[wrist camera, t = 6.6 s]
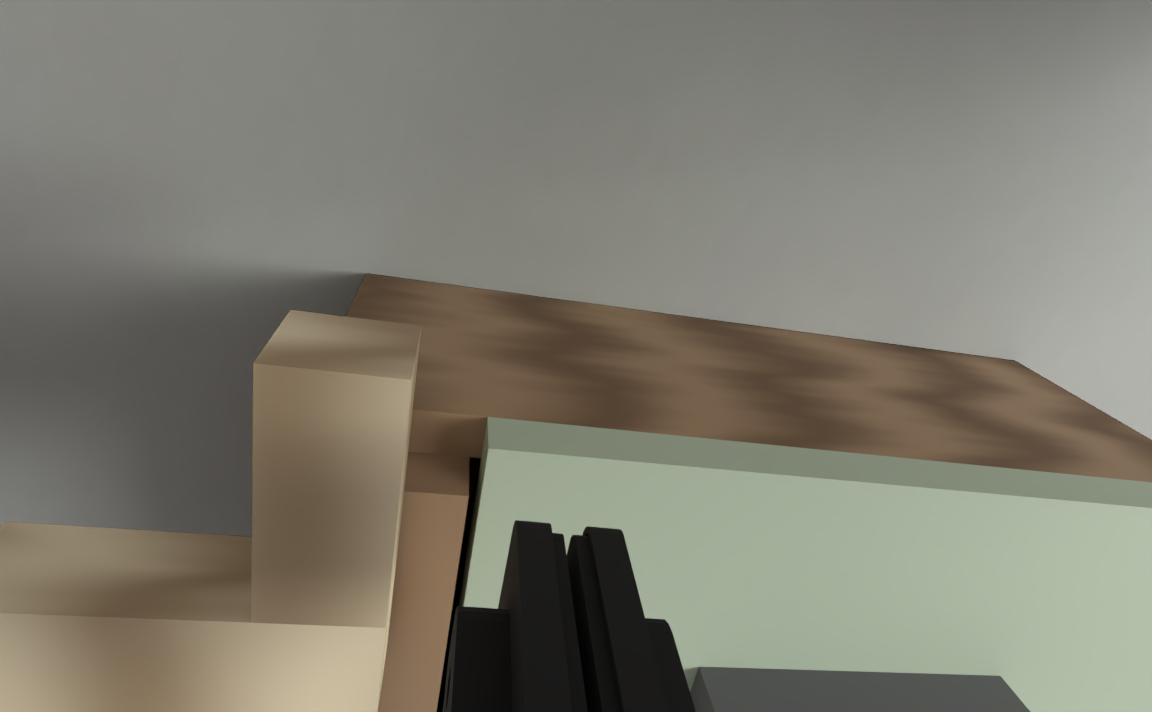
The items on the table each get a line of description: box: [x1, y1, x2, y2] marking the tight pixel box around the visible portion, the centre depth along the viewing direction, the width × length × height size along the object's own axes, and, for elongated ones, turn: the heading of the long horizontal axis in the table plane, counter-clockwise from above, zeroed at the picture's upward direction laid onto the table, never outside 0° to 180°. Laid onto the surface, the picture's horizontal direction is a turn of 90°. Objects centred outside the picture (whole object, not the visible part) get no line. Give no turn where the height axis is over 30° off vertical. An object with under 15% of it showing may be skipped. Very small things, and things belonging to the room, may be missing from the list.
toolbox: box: [345, 274, 1152, 712], centre depth 26 cm, size 28×16×12 cm, turn 79°
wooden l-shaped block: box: [0, 310, 421, 712], centre depth 14 cm, size 8×8×2 cm
